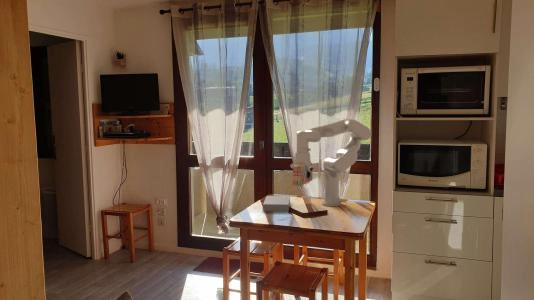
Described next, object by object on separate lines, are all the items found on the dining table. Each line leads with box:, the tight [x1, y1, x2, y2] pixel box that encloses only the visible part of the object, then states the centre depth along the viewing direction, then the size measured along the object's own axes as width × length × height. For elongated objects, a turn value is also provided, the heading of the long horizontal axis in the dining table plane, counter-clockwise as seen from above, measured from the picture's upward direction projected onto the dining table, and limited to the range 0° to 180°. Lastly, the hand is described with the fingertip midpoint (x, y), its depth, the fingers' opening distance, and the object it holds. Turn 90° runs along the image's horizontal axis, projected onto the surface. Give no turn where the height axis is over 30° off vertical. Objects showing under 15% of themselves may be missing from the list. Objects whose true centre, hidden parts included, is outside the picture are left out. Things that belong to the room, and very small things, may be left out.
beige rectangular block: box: [292, 164, 313, 187], centre depth 276 cm, size 21×6×12 cm, turn 156°
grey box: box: [262, 195, 291, 213], centre depth 280 cm, size 16×26×5 cm, turn 175°
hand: (302, 177), depth 276 cm, fingers closed on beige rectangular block, 7 cm apart
